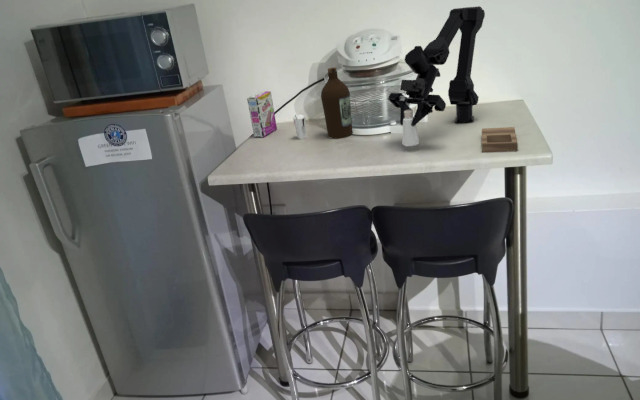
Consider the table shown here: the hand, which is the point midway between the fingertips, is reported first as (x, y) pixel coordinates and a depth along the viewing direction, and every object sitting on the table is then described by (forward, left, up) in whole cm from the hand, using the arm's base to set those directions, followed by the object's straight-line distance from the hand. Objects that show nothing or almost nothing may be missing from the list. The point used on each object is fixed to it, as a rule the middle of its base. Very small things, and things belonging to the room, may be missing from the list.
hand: (406, 125), depth 155 cm
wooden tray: (-4, +28, -9) cm, 29 cm away
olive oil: (-21, -28, -9) cm, 36 cm away
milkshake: (-19, -43, -9) cm, 48 cm away
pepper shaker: (-1, +1, -7) cm, 7 cm away
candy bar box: (-28, -62, -9) cm, 69 cm away
